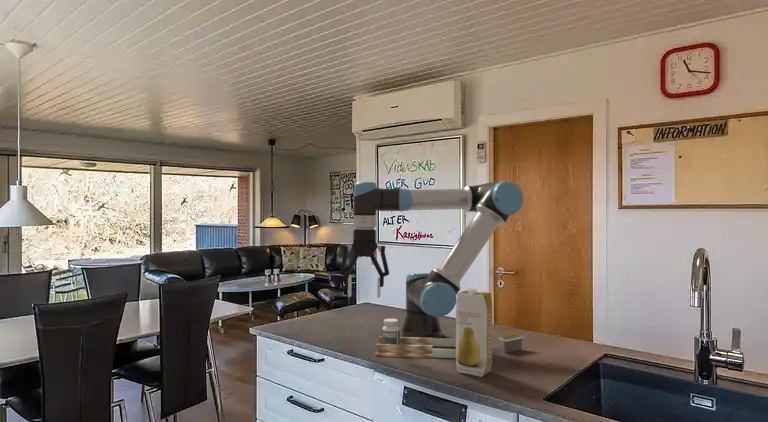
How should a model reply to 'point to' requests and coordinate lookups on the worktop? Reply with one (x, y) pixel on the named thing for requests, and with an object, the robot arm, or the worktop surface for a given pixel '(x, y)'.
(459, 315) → the juice carton
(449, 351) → the tray
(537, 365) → the worktop surface
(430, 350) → the slot rails
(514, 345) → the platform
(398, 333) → the pill bottle
